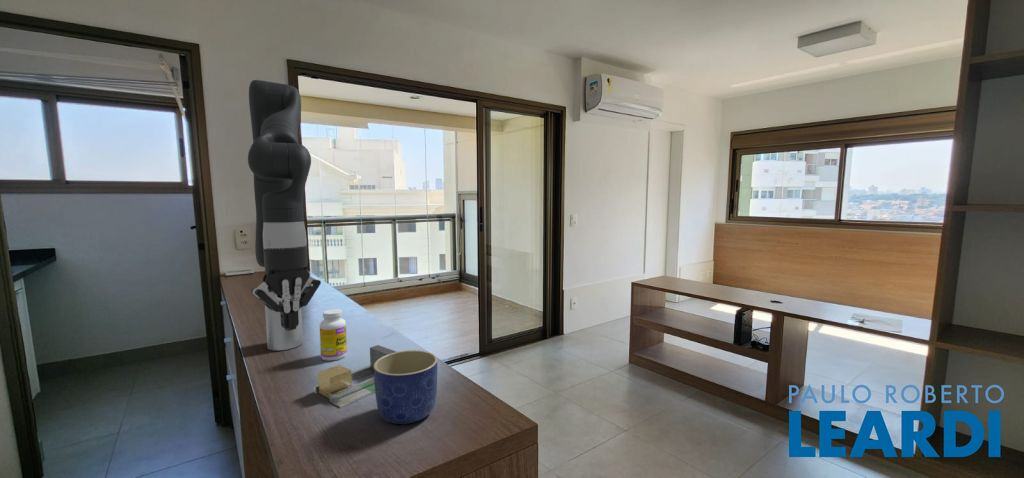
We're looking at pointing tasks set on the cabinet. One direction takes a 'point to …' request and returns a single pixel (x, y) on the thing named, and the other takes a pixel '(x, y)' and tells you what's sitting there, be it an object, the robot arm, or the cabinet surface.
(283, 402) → the cabinet surface
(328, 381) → the tan gold cube
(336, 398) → the grey open frame tray
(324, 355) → the supplement bottle
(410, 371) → the planter
